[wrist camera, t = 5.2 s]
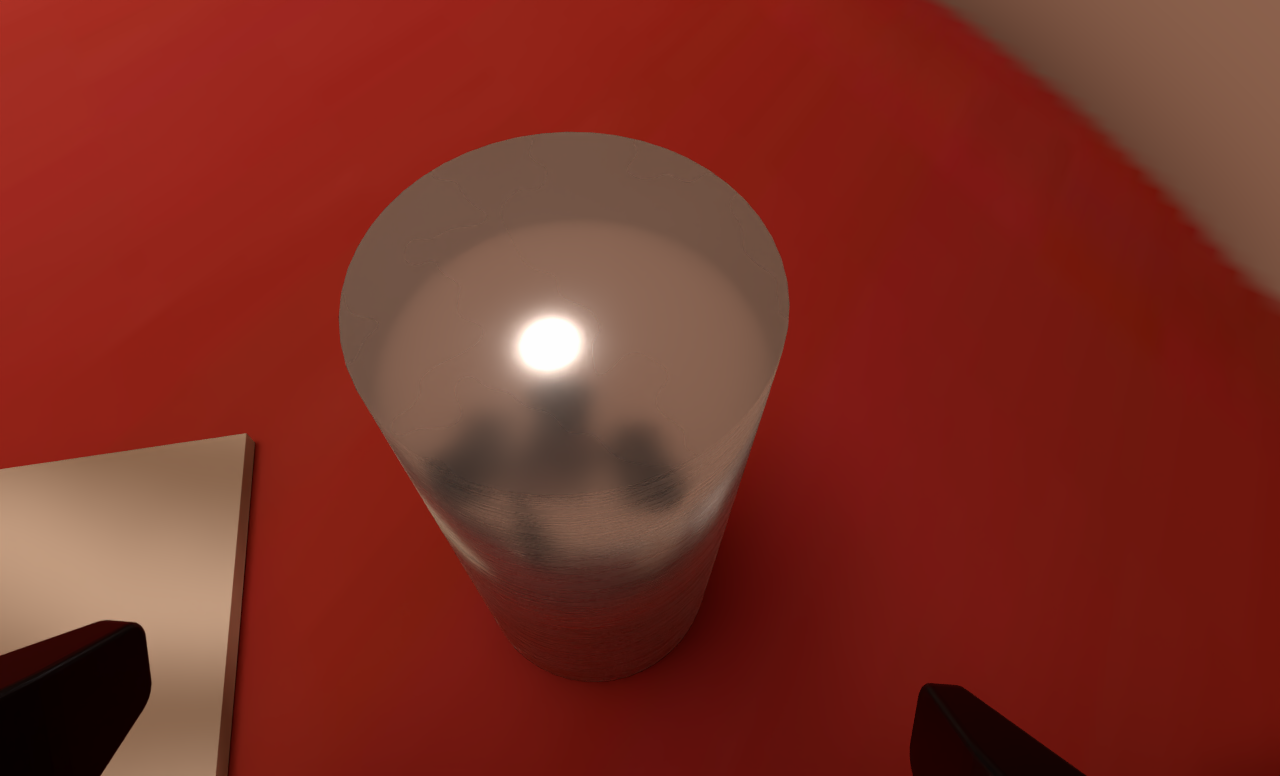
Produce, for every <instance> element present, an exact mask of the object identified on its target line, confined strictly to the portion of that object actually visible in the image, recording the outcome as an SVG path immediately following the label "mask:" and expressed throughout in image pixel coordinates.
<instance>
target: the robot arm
mask: <svg viewBox="0 0 1280 776" xmlns="http://www.w3.org/2000/svg"><path fill="white" fill-rule="evenodd" d="M151 686H152V680H151V672H150V664H149V656H148V648H147V640H146V634H145V631H144V629H143V627H142V626H141V625H140V624H138V623H136V622H128V621H115V620H101V621H97V622H95V623H92V624H89V625H86V626H83V627H80V628H77V629H75V630H72V631H69V632H66V633H63V634H60V635H57V636H54V637H52V638H49V639H46V640H43V641H40V642H37V643H34V644H32V645H29V646H26V647H23V648H20V649H17V650H14V651H11V652H9V653H6V654H3V655H0V776H101V774H102V773H103V771H104V770H105V768H106V767H107V765H108V764H109V762H110V761H111V759H112V758H113V756H114V754H115V753H116V751H117V750H118V748H119V747H120V745H121V744H122V742H123V741H124V739H125V737H126V736H127V734H128V733H129V731H130V730H131V728H132V727H133V725H134V724H135V722H136V720H137V719H138V717H139V716H140V714H141V713H142V711H143V710H144V708H145V706H146V704H147V702H148V700H149V697H150V693H151ZM910 763H911V769H912V773H913V776H1086V775H1085V774H1083V773H1082V772H1080V771H1079V770H1078V769H1076V768H1075V767H1073V766H1072V765H1071V764H1069V763H1068V762H1066V761H1065V760H1064V759H1062V758H1061V757H1059V756H1058V755H1057V754H1055V753H1054V752H1052V751H1051V750H1050V749H1048V748H1047V747H1046V746H1044V745H1043V744H1041V743H1040V742H1039V741H1037V740H1036V739H1034V738H1033V737H1032V736H1030V735H1029V734H1027V733H1026V732H1025V731H1023V730H1022V729H1020V728H1019V727H1018V726H1016V725H1015V724H1013V723H1012V722H1011V721H1009V720H1008V719H1006V718H1005V717H1004V716H1002V715H1001V714H999V713H998V712H997V711H995V710H994V709H992V708H991V707H990V706H988V705H987V704H985V703H984V702H983V701H981V700H980V699H979V698H977V697H976V696H974V695H973V694H972V693H970V692H969V691H967V690H966V689H964V688H963V687H961V686H958V685H948V684H934V683H927V684H925V685H924V686H923V687H922V688H921V690H920V692H919V696H918V701H917V707H916V713H915V719H914V724H913V730H912V736H911V742H910Z"/></svg>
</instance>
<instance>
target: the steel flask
mask: <svg viewBox="0 0 1280 776" xmlns="http://www.w3.org/2000/svg"><path fill="white" fill-rule="evenodd" d="M788 317H789V295H788V285H787V278H786V275H785V271H784V267H783V263H782V260H781V257H780V254H779V252H778V250H777V248H776V245H775V243H774V241H773V238H772V236H771V235H770V233H769V232H768V230H767V228H766V227H765V225H764V224H763V222H762V220H761V219H760V217H759V216H758V215H757V214H756V213H755V211H754V210H753V209H752V208H751V206H750V205H749V204H748V203H747V202H746V200H745V199H744V198H742V197H741V196H740V195H739V194H738V193H737V192H736V191H735V190H734V189H733V188H732V187H731V186H730V185H728V184H727V183H726V182H724V181H723V180H722V179H720V178H719V177H718V176H716V175H715V174H713V173H712V172H711V171H709V170H708V169H706V168H704V167H702V166H701V165H699V164H697V163H695V162H694V161H692V160H690V159H688V158H686V157H684V156H682V155H679V154H677V153H675V152H672V151H670V150H668V149H666V148H663V147H659V146H656V145H653V144H650V143H647V142H644V141H640V140H635V139H631V138H626V137H621V136H616V135H608V134H599V133H585V132H560V133H545V134H536V135H530V136H524V137H518V138H513V139H509V140H505V141H501V142H497V143H493V144H490V145H487V146H484V147H482V148H479V149H476V150H473V151H470V152H468V153H465V154H463V155H461V156H459V157H457V158H455V159H453V160H451V161H448V162H446V163H444V164H443V165H441V166H439V167H438V168H436V169H434V170H433V171H431V172H429V173H428V174H426V175H424V176H423V177H421V178H420V179H419V180H417V181H416V182H415V183H413V184H412V185H411V186H410V187H408V188H407V189H406V190H404V191H403V192H402V193H401V194H400V195H399V196H398V197H397V198H396V199H395V200H394V201H393V202H391V203H390V204H389V205H388V206H387V207H386V208H385V209H384V211H383V212H382V213H381V214H380V216H379V217H378V218H377V219H376V220H375V222H374V223H373V224H372V225H371V227H370V228H369V229H368V231H367V233H366V234H365V236H364V238H363V239H362V241H361V243H360V244H359V246H358V247H357V249H356V252H355V254H354V256H353V259H352V261H351V263H350V265H349V268H348V270H347V274H346V277H345V281H344V285H343V289H342V293H341V301H340V311H339V327H340V342H341V346H342V350H343V354H344V358H345V363H346V366H347V369H348V371H349V373H350V376H351V378H352V380H353V383H354V385H355V387H356V390H357V391H358V393H359V395H360V396H361V398H362V400H363V401H364V403H365V405H366V406H367V408H368V410H369V411H370V413H371V414H372V416H373V418H374V419H375V421H376V423H377V424H378V426H379V428H380V429H381V431H382V433H383V434H384V436H385V438H386V439H387V441H388V443H389V444H390V446H391V448H392V449H393V451H394V453H395V454H396V456H397V458H398V459H399V461H400V462H401V464H402V466H403V467H404V469H405V471H406V472H407V474H408V476H409V477H410V479H411V481H412V482H413V484H414V486H415V487H416V489H417V491H418V492H419V494H420V496H421V497H422V499H423V501H424V502H425V504H426V506H427V507H428V509H429V510H430V512H431V514H432V515H433V517H434V519H435V520H436V522H437V524H438V525H439V527H440V529H441V530H442V532H443V534H444V535H445V537H446V539H447V540H448V542H449V544H450V545H451V547H452V549H453V550H454V552H455V554H456V555H457V557H458V558H459V560H460V562H461V563H462V565H463V567H464V568H465V570H466V572H467V573H468V575H469V577H470V578H471V580H472V582H473V583H474V585H475V587H476V588H477V590H478V592H479V593H480V595H481V597H482V598H483V600H484V602H485V603H486V605H487V606H488V608H489V610H490V611H491V613H492V615H493V616H494V618H495V620H496V621H497V623H498V625H499V626H500V628H501V629H502V631H503V633H504V634H505V636H506V637H507V639H508V640H509V641H510V642H511V644H512V645H513V646H514V647H515V648H516V649H517V651H519V652H520V653H521V654H522V655H523V656H524V657H525V658H527V659H528V660H529V661H531V662H532V663H534V664H535V665H537V666H538V667H540V668H541V669H544V670H546V671H548V672H550V673H552V674H554V675H557V676H560V677H564V678H567V679H571V680H578V681H584V682H602V681H611V680H617V679H621V678H624V677H628V676H631V675H634V674H636V673H638V672H641V671H643V670H645V669H647V668H649V667H650V666H652V665H654V664H655V663H657V662H658V661H660V660H661V659H662V658H664V657H665V656H666V655H667V654H669V653H670V652H671V651H672V650H673V649H674V648H675V647H676V646H677V645H678V644H679V643H680V641H681V640H682V638H683V637H684V636H685V634H686V633H687V632H688V630H689V629H690V627H691V625H692V623H693V621H694V620H695V618H696V615H697V613H698V610H699V608H700V605H701V602H702V599H703V596H704V593H705V590H706V587H707V584H708V580H709V577H710V574H711V571H712V568H713V565H714V562H715V559H716V556H717V553H718V549H719V546H720V543H721V540H722V537H723V534H724V531H725V528H726V525H727V522H728V518H729V515H730V512H731V509H732V506H733V503H734V500H735V497H736V494H737V491H738V487H739V484H740V481H741V478H742V475H743V472H744V469H745V466H746V463H747V460H748V457H749V453H750V450H751V447H752V444H753V441H754V438H755V435H756V432H757V429H758V426H759V422H760V419H761V416H762V413H763V410H764V407H765V404H766V401H767V398H768V395H769V391H770V388H771V385H772V382H773V379H774V376H775V373H776V370H777V367H778V364H779V360H780V357H781V354H782V351H783V347H784V342H785V338H786V334H787V329H788Z"/></svg>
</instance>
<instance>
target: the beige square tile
mask: <svg viewBox="0 0 1280 776" xmlns="http://www.w3.org/2000/svg"><path fill="white" fill-rule="evenodd" d="M254 448H255V442H254V441H253V440H252V439H251V438H250V437H249V436H248V435H247V434H239V435H232V436H225V437H218V438H212V439H205V440H198V441H191V442H184V443H177V444H171V445H164V446H157V447H150V448H143V449H137V450H130V451H123V452H116V453H109V454H102V455H96V456H89V457H82V458H75V459H68V460H61V461H55V462H48V463H41V464H34V465H27V466H21V467H14V468H7V469H0V655H3V654H6V653H9V652H11V651H14V650H17V649H20V648H23V647H26V646H29V645H32V644H34V643H37V642H40V641H43V640H46V639H49V638H52V637H54V636H57V635H60V634H63V633H66V632H69V631H72V630H75V629H77V628H80V627H83V626H86V625H89V624H92V623H95V622H97V621H101V620H115V621H128V622H136V623H138V624H140V625H141V626H142V627H143V629H144V631H145V634H146V640H147V648H148V656H149V664H150V672H151V680H152V686H151V693H150V697H149V700H148V702H147V704H146V706H145V708H144V710H143V711H142V713H141V714H140V716H139V717H138V719H137V720H136V722H135V724H134V725H133V727H132V728H131V730H130V731H129V733H128V734H127V736H126V737H125V739H124V741H123V742H122V744H121V745H120V747H119V748H118V750H117V751H116V753H115V754H114V756H113V758H112V759H111V761H110V762H109V764H108V765H107V767H106V768H105V770H104V771H103V773H102V774H101V776H227V775H228V763H229V751H230V739H231V727H232V715H233V702H234V690H235V678H236V666H237V654H238V642H239V630H240V618H241V606H242V594H243V581H244V569H245V557H246V545H247V533H248V521H249V509H250V497H251V485H252V473H253V460H254Z"/></svg>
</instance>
